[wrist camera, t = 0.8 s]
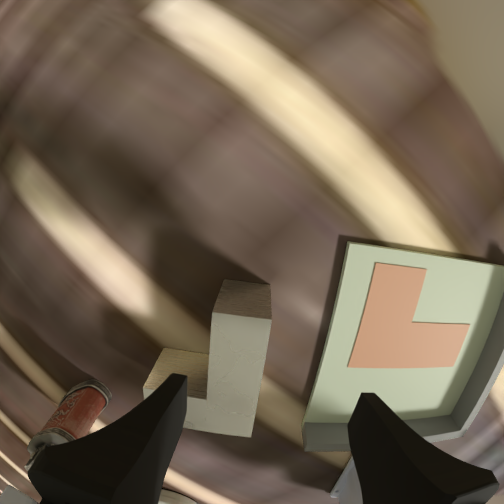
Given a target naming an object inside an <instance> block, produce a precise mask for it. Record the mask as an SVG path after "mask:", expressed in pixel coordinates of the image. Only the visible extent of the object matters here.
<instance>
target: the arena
mask: <svg viewBox="0 0 504 504" xmlns="http://www.w3.org/2000/svg"><path fill="white" fill-rule="evenodd" d="M503 364H504V266H503V265H497V264H491V263H485V262H480V261H474V260H468V259H462V258H455V257H449V256H443V255H437V254H430V253H424V252H418V251H411V250H404V249H398V248H391V247H384V246H378V245H371V244H364V243H357V242H350V241H347V246H346V252H345V257H344V262H343V267H342V272H341V277H340V281H339V286H338V291H337V295H336V300H335V304H334V309H333V313H332V317H331V321H330V325H329V330H328V334H327V338H326V341H325V345H324V349H323V353H322V357H321V361H320V364H319V368H318V371H317V375H316V379H315V382H314V385H313V389H312V392H311V396H310V399H309V402H308V406H307V409H306V412H305V415H304V418H303V421H302V425H301V427H302V435H303V444H304V451H351V449H350V445H349V438H348V428H347V425H348V422H349V420H350V418H351V416H352V413H353V411H354V409H355V406H356V404H357V402H358V399H359V397H360V394H361V392H365V393H375V394H376V395H377V396H378V397H380V398H381V399H382V400H383V401H384V402H385V403H386V404H387V405H388V406H389V407H390V408H391V409H392V410H393V411H394V412H395V413H396V414H397V415H398V416H399V417H400V418H401V419H402V420H403V421H404V422H405V423H406V424H407V425H408V426H409V427H410V428H412V429H413V430H414V431H415V432H416V433H418V434H419V435H420V436H421V437H423V438H424V439H425V440H427V441H428V442H429V443H431V442H437V441H442V440H447V439H452V438H457V437H462V436H463V435H464V434H465V432H466V431H467V429H468V428H469V426H470V424H471V423H472V421H473V420H474V418H475V416H476V415H477V413H478V411H479V410H480V408H481V406H482V405H483V403H484V401H485V399H486V398H487V396H488V394H489V392H490V390H491V388H492V386H493V384H494V383H495V381H496V379H497V377H498V375H499V373H500V371H501V369H502V366H503Z"/></svg>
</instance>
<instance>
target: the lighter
mask: <svg viewBox="0 0 504 504" xmlns="http://www.w3.org/2000/svg"><path fill="white" fill-rule="evenodd" d="M111 398H112V396H111V393H110V391H109V389H108V388H107V387H106V386H105V385H104V384H103V383H101V382H99V381H98V380H94V379H91V380H88V381H85V382H82V383H80V384H78V385H76V386H75V387H73V388H72V389H71V390H70V391H69V392H68V393H67V394H66V395H65V396H64V397H63V399H62V400H61V402H60V404H59V405H58V409H57V410H56V411H55V413H54V414H53V415H52V417H51V418H50V419H49V421H48V422H47V423H46V425H45V426H44V427H43V429H42V430H41V431H40V432H38V433H37V434H36V435H35V436H34V437H33V438H32V440H31V441H30V442H29V445H28V447H27V449H28V451H29V453H30V454H31V456H30V459H29V461H28V463H27V464H26V466H25V469H26V470H27V471H28V470H29V469H30V467H31V466H32V464H33V463H34V461H35V460H36V458H37V457H38V455H39V454H40V453H41V452H42V451H43V449H44V448H45V447H49V446H54V445H58V444H62V443H66V442H70V441H73V440H76V439H79V438H81V437H84V436H86V435H87V433H88V432H89V430H90V428H91V427H92V425H93V423H94V422H95V420H96V419H97V417H98V415H99V414H100V413H101V412H102V411H103V410H104V409H105V407H106V406H107V405H108V403H109V402H110V400H111Z"/></svg>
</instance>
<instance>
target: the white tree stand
mask: <svg viewBox="0 0 504 504" xmlns="http://www.w3.org/2000/svg"><path fill="white" fill-rule="evenodd" d="M158 504H198V503H196V502H195V501H193V500H192V499H190V498H188V497H186V496H183V495H181V494H178V493H175V492H172V491H168V490H164V489H161V493H160V498H159V502H158Z"/></svg>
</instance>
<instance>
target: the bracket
mask: <svg viewBox="0 0 504 504" xmlns="http://www.w3.org/2000/svg"><path fill="white" fill-rule="evenodd" d="M271 322H272V312H271V290H270V285H268V284H260V283H252V282H244V281H236V280H228V279H224V281H223V284H222V286H221V289H220V292H219V295H218V297H217V300H216V303H215V306H214V309H213V311H212V322H211V336H210V351H209V354H203V353H196V352H190V351H184V350H179V349H173V348H167V347H164V349H163V350H162V352H161V354H160V356H159V358H158V360H157V362H156V364H155V365H154V367H153V369H152V371H151V373H150V375H149V377H148V379H147V381H146V383H145V384H144V386H143V394H144V400H145V399H146V398H147V397H148V396H149V395H150V394H151V393H152V392H154V391H155V390H156V389H157V388H158V387H159V386H160V385H161V384H162V383H163V382H164V381H165V380H166V379H167V377H168V376H169V375H170V374H172V373H177V374H182V375H188V380H187V412H186V417H185V421H184V425H183V428H188V429H194V430H199V431H206V432H212V433H219V434H226V435H234V436H243V437H251V435H252V429H253V424H254V419H255V414H256V408H257V403H258V397H259V392H260V386H261V380H262V375H263V369H264V363H265V358H266V352H267V346H268V340H269V334H270V328H271Z"/></svg>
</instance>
